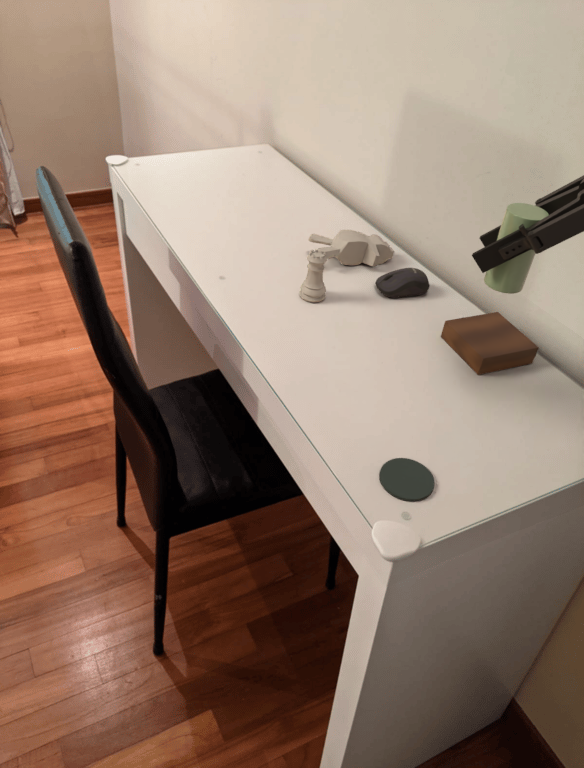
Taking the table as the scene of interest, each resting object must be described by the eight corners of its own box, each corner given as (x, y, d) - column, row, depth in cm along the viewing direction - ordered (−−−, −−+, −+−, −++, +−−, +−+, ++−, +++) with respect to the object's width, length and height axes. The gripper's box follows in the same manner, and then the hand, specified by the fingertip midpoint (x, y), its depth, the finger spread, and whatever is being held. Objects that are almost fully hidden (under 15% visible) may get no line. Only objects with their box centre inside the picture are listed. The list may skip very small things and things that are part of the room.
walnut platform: (532, 363, 92) (539, 347, 90) (477, 375, 88) (483, 358, 86) (492, 327, 99) (497, 311, 97) (440, 336, 95) (445, 320, 93)
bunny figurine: (402, 250, 108) (324, 245, 104) (394, 276, 111) (317, 271, 107) (383, 227, 115) (309, 220, 110) (376, 251, 118) (303, 246, 114)
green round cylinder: (530, 291, 79) (558, 218, 73) (499, 296, 77) (524, 221, 71) (506, 272, 82) (531, 201, 76) (476, 276, 81) (498, 204, 74)
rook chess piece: (293, 293, 102) (297, 250, 97) (314, 287, 104) (319, 244, 99) (310, 306, 99) (315, 262, 94) (331, 299, 101) (337, 255, 96)
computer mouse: (370, 283, 106) (374, 262, 104) (419, 280, 109) (424, 260, 106) (382, 300, 102) (386, 279, 100) (432, 297, 105) (438, 276, 102)
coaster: (444, 493, 70) (445, 491, 70) (396, 507, 68) (396, 505, 68) (415, 455, 75) (416, 452, 74) (369, 466, 73) (370, 464, 72)
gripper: (661, 101, 70) (478, 206, 84) (671, 143, 56) (452, 258, 71) (688, 158, 72) (505, 250, 86) (705, 211, 58) (485, 309, 73)
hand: (481, 254), depth 79 cm, fingers closed on green round cylinder, 5 cm apart
